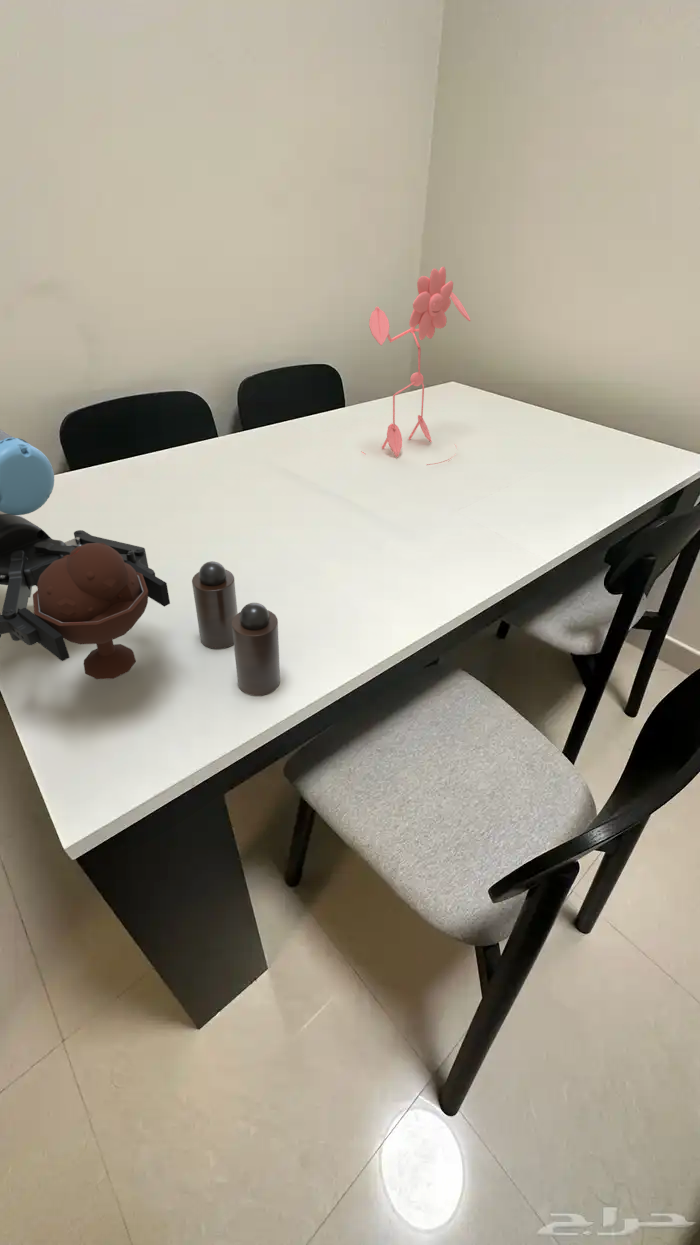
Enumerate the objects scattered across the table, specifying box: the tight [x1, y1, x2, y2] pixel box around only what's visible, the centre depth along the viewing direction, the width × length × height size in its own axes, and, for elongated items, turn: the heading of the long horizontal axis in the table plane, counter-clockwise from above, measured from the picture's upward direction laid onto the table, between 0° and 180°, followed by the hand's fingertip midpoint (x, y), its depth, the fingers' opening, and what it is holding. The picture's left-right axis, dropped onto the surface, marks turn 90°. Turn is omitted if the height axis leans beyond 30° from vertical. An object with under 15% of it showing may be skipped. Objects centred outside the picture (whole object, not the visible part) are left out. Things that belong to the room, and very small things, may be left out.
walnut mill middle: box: [191, 560, 239, 650], centre depth 72 cm, size 5×5×11 cm
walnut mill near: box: [232, 602, 281, 697], centre depth 66 cm, size 5×5×11 cm
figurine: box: [360, 266, 472, 466], centre depth 117 cm, size 15×26×35 cm, turn 134°
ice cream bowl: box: [32, 543, 149, 680], centre depth 60 cm, size 11×11×15 cm
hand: (117, 619), depth 58 cm, fingers closed on ice cream bowl, 11 cm apart
